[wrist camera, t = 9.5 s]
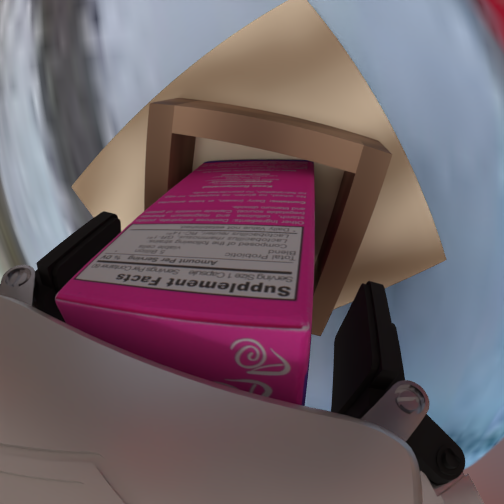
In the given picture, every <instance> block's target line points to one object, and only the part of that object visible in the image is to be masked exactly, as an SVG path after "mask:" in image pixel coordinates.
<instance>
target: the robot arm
mask: <svg viewBox="0 0 504 504" xmlns="http://www.w3.org/2000/svg"><path fill="white" fill-rule="evenodd" d="M119 233H121V221H120V219H118V216H117V215H116V214H113V213H109V212H106V211H103V212H101V213H100V214H98V215H97V216H96V217H94V218H93V219H92V220H90V221H89V222H87V223H86V224H85V225H83V226H82V227H81V228H79V229H78V230H77V231H76V232H74V233H73V234H72V235H70V236H69V237H68V238H67V239H65V240H64V241H63V242H61V243H60V244H59V245H58V246H56V247H55V248H54V249H53V250H52V251H50V252H49V253H48V254H47V255H45V256H44V257H43V258H42V259H41V260H39V261H38V262H37V267H38V270H36V271H35V270H34V269H33V268H32V267H31V266H28V265H19V266H15V267H13V268H11V269H9V270H8V271H7V272H6V273H5V274H4V275H3V278H2V280H1V284H0V504H484V503H483V501H482V499H481V497H480V495H479V493H478V491H477V489H476V487H475V485H474V483H473V482H472V480H471V478H470V476H469V474H467V475H464V473H463V470H464V467H465V457H464V454H463V451H462V450H461V448H460V447H459V446H458V445H457V444H456V443H455V442H454V441H453V440H452V439H451V438H450V437H449V436H448V435H447V434H446V433H445V432H444V431H443V430H442V429H441V428H440V427H439V426H438V425H437V424H436V423H435V422H434V421H433V420H432V419H431V418H430V417H429V416H428V415H427V412H428V409H429V399H428V396H427V394H426V392H425V391H424V390H423V388H422V387H421V386H419V385H418V384H416V383H415V382H412V381H408V380H405V377H404V370H403V364H402V358H401V352H400V346H399V341H398V335H397V330H396V327H395V325H394V324H393V323H391V318H390V312H389V308H388V303H387V298H386V293H385V289H384V285H383V284H379V283H376V282H372V281H368V282H367V283H366V284H364V283H362V284H361V286H360V288H359V290H358V292H357V294H356V296H355V298H354V300H353V302H352V305H351V307H350V309H349V311H348V313H347V315H346V317H345V319H344V321H343V323H342V325H341V327H340V329H339V331H338V333H337V335H336V337H335V342H334V370H333V391H332V407H331V412H330V411H326V410H321V409H316V408H311V407H307V406H302V405H298V404H294V403H290V402H285V401H281V400H277V399H273V398H269V397H265V396H261V395H257V394H254V393H250V392H246V391H243V390H239V389H235V388H232V387H229V386H225V385H222V384H219V383H215V382H212V381H209V380H206V379H203V378H200V377H197V376H194V375H191V374H188V373H185V372H182V371H179V370H176V369H173V368H170V367H168V366H165V365H162V364H159V363H157V362H154V361H151V360H149V359H146V358H144V357H141V356H139V355H136V354H134V353H131V352H129V351H126V350H124V349H121V348H119V347H117V346H114V345H112V344H110V343H107V342H105V341H103V340H101V339H98V338H96V337H94V336H92V335H89V334H87V333H85V332H83V331H81V330H79V329H77V328H75V327H73V326H70V325H68V324H66V322H65V320H64V318H63V316H62V314H61V312H60V310H59V309H58V307H57V305H56V301H55V296H56V294H57V293H58V292H59V291H60V290H61V289H62V288H63V287H64V286H65V285H66V284H67V283H68V281H69V280H70V279H71V278H72V277H73V276H74V275H76V274H77V273H78V272H79V271H80V270H81V269H82V268H83V267H84V266H85V265H86V264H87V263H88V262H89V261H90V260H91V259H92V258H93V257H94V256H95V255H96V254H98V253H99V252H100V251H101V250H102V249H103V248H104V247H105V246H106V245H107V244H109V243H110V242H111V241H112V240H113V239H114V238H115V237H116V236H117V235H118V234H119Z"/></svg>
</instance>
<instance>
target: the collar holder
mask: <svg viewBox="0 0 504 504" xmlns="http://www.w3.org/2000/svg"><path fill="white" fill-rule="evenodd" d="M225 160H308V161H312V162H314V189H315V258H314V288H313V311H312V331H311V334H313V335H318V336H321V334H322V332H323V330H324V328H325V326H326V324H327V322H328V320H329V317H330V315H331V313H332V311H333V309H336V308H338V307H341V306H343V305H346V304H348V303H351V302H353V300H354V298H355V296H356V294H357V292H358V290H359V288H360V286H361V284H362V283H364V284H366V283H367V282H368V281H372V282H376V283H379V284H383V285H384V288H387V287H389V286H391V285H393V284H396V283H398V282H400V281H402V280H405V279H407V278H409V277H411V276H413V275H416V274H418V273H420V272H422V271H424V270H426V269H428V268H431V267H433V266H435V265H437V264H439V263H441V262H443V261H445V260H446V257H445V253H444V250H443V247H442V244H441V241H440V238H439V235H438V232H437V229H436V226H435V224H434V221H433V218H432V215H431V213H430V210H429V208H428V205H427V202H426V200H425V197H424V195H423V192H422V190H421V188H420V185H419V183H418V181H417V178H416V176H415V174H414V171H413V169H412V167H411V165H410V163H409V160H408V158H407V156H406V154H405V152H404V150H403V148H402V146H401V144H400V142H399V140H398V138H397V136H396V134H395V132H394V130H393V128H392V126H391V124H390V122H389V121H388V119H387V117H386V115H385V113H384V111H383V110H382V108H381V106H380V104H379V103H378V101H377V99H376V98H375V96H374V94H373V92H372V91H371V89H370V87H369V86H368V84H367V83H366V81H365V79H364V78H363V76H362V75H361V73H360V72H359V70H358V68H357V67H356V65H355V64H354V62H353V61H352V59H351V58H350V56H349V55H348V54H347V52H346V51H345V49H344V48H343V46H342V45H341V44H340V42H339V41H338V39H337V38H336V37H335V35H334V34H333V33H332V31H331V30H330V29H329V27H328V26H327V25H326V23H325V22H324V21H323V20H322V18H321V17H320V16H319V15H318V13H317V12H316V11H315V10H314V8H313V7H312V6H311V5H310V4H309V2H308V1H307V0H288V1H286V2H284V3H283V4H281V5H279V6H277V7H276V8H274V9H272V10H271V11H269V12H267V13H266V14H264V15H262V16H261V17H259V18H258V19H256V20H254V21H253V22H251V23H250V24H248V25H247V26H245V27H244V28H242V29H241V30H239V31H238V32H236V33H235V34H233V35H232V36H230V37H229V38H228V39H226V40H225V41H223V42H222V43H221V44H219V45H218V46H216V47H215V48H214V49H212V50H211V51H210V52H208V53H207V54H206V55H204V56H203V57H202V58H201V59H199V60H198V61H197V62H195V63H194V64H193V65H192V66H190V67H189V68H188V69H187V70H186V71H184V72H183V73H182V74H181V75H180V76H178V77H177V78H176V79H175V80H174V81H172V82H171V83H170V84H169V85H168V86H167V87H166V88H164V89H163V90H162V91H161V92H160V93H159V94H158V95H157V96H156V97H154V98H153V99H152V100H151V101H150V102H149V103H148V104H147V105H146V106H145V107H144V108H143V109H142V110H141V111H140V112H139V113H138V114H136V115H135V116H134V117H133V118H132V119H131V120H130V121H129V122H128V123H127V124H126V125H125V126H124V128H123V129H122V130H121V131H120V132H119V133H118V134H117V135H116V136H115V137H114V138H113V139H112V140H111V141H110V142H109V143H108V144H107V146H106V147H105V148H104V149H103V150H102V151H101V152H100V153H99V154H98V156H97V157H96V158H95V159H94V160H93V161H92V163H91V164H90V165H89V166H88V167H87V168H86V170H85V171H84V172H83V173H82V174H81V176H80V177H79V178H78V179H77V181H76V182H75V183H74V184H73V186H72V188H73V190H74V191H75V192H76V194H77V195H78V197H79V198H80V199H81V201H82V202H83V203H84V205H85V206H86V208H87V209H88V210H89V212H90V213H91V214H92V216H93V217H96V216H97V215H98V214H100V213H101V212H103V211H106V212H109V213H113V214H116V215H117V216H118V219H120V221H121V232H122V231H123V230H124V229H125V228H126V227H127V226H128V225H129V224H130V223H131V222H133V221H134V220H135V219H136V218H137V217H138V216H139V215H140V214H142V213H143V212H144V211H145V210H146V209H147V208H149V207H150V206H151V205H152V204H153V203H155V202H156V201H157V200H158V199H159V198H161V197H162V196H163V195H164V194H165V193H167V192H168V191H169V190H170V189H171V188H173V187H174V186H175V185H176V184H178V183H179V182H180V181H182V180H183V179H184V178H185V177H187V176H188V175H189V174H190V173H192V172H193V171H194V170H195V169H197V168H198V167H199V166H200V165H202V164H203V163H204V162H208V161H225Z"/></svg>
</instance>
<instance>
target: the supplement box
mask: <svg viewBox="0 0 504 504" xmlns="http://www.w3.org/2000/svg"><path fill="white" fill-rule="evenodd" d="M314 258H315V189H314V162H312V161H308V160H225V161H208V162H204V163H203V164H202V165H200V166H199V167H198V168H197V169H195V170H194V171H193V172H192V173H190V174H189V175H188V176H187V177H185V178H184V179H183V180H182V181H180V182H179V183H178V184H176V185H175V186H174V187H173V188H171V189H170V190H169V191H168V192H167V193H165V194H164V195H163V196H162V197H161V198H159V199H158V200H157V201H156V202H155V203H153V204H152V205H151V206H150V207H149V208H147V209H146V210H145V211H144V212H143V213H142V214H140V215H139V216H138V217H137V218H136V219H135V220H134V221H133V222H131V223H130V224H129V225H128V226H127V227H126V228H125V229H124V230H123V231H122V232H121V233H119V234H118V235H117V236H116V237H115V238H114V239H113V240H112V241H111V242H110V243H109V244H107V245H106V246H105V247H104V248H103V249H102V250H101V251H100V252H99V253H98V254H96V255H95V256H94V257H93V258H92V259H91V260H90V261H89V262H88V263H87V264H86V265H85V266H84V267H83V268H82V269H81V270H80V271H79V272H78V273H77V274H76V275H74V276H73V277H72V278H71V279H70V280H69V281H68V283H67V284H66V285H65V286H64V287H63V288H62V289H61V290H60V291H59V292H58V293H57V294H56V296H55V301H56V305H57V307H58V309H59V310H60V312H61V314H62V316H63V318H64V320H65V322H66V324H68V325H70V326H73V327H75V328H77V329H79V330H81V331H83V332H85V333H87V334H89V335H92V336H94V337H96V338H98V339H101V340H103V341H105V342H107V343H110V344H112V345H114V346H117V347H119V348H121V349H124V350H126V351H129V352H131V353H134V354H136V355H139V356H141V357H144V358H146V359H149V360H151V361H154V362H157V363H159V364H162V365H165V366H168V367H170V368H173V369H176V370H179V371H182V372H185V373H188V374H191V375H194V376H197V377H200V378H203V379H206V380H209V381H212V382H215V383H219V384H222V385H225V386H229V387H232V388H235V389H239V390H243V391H246V392H250V393H254V394H257V395H261V396H265V397H269V398H273V399H277V400H281V401H285V402H290V403H294V404H298V405H302V406H304V405H305V397H306V388H307V379H308V370H309V358H310V345H311V331H312V311H313V288H314Z"/></svg>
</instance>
